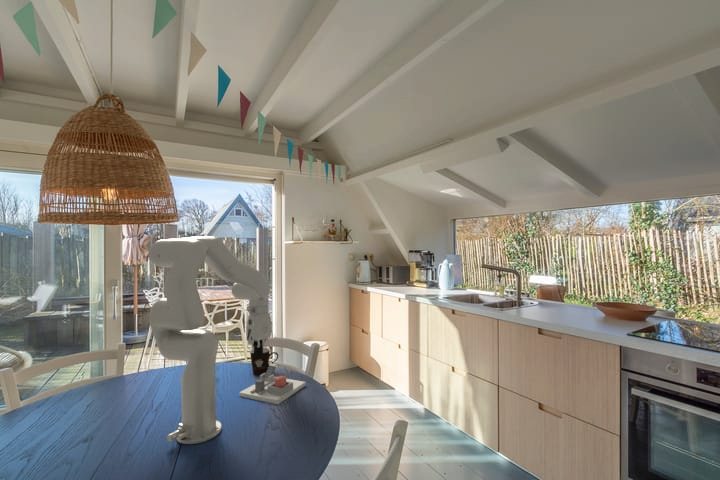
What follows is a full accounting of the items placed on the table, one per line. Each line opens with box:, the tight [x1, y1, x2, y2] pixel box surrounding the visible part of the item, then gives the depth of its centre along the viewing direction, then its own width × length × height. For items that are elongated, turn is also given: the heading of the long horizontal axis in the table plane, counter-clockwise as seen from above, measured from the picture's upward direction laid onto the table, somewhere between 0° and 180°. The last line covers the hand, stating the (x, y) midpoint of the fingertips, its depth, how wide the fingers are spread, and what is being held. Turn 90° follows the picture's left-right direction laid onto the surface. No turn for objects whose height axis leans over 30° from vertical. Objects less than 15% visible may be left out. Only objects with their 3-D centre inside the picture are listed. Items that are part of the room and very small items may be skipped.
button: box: [274, 375, 287, 388], centre depth 134 cm, size 4×4×4 cm
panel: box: [238, 373, 306, 405], centre depth 138 cm, size 18×18×4 cm
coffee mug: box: [249, 347, 279, 376], centre depth 158 cm, size 12×9×10 cm
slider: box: [254, 378, 265, 392], centre depth 134 cm, size 2×2×4 cm
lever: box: [264, 362, 278, 380], centre depth 146 cm, size 1×3×7 cm
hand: (258, 356), depth 139 cm, fingers closed
